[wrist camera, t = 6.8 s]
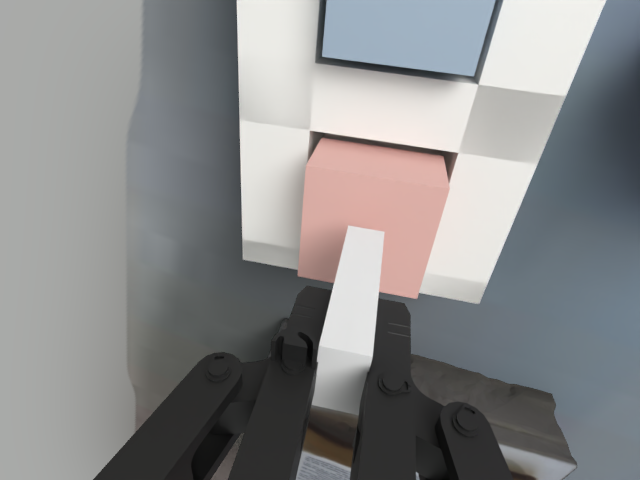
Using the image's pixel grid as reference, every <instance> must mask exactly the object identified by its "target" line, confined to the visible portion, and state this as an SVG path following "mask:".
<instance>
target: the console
mask: <svg viewBox="0 0 640 480" xmlns="http://www.w3.org/2000/svg"><path fill="white" fill-rule="evenodd" d="M605 2H606V0H496V1H495V4H494V8H493V11H492V15H491V18H490V22H489V25H488V29H487V32H486V36H485V39H484V43H483V46H482V50H481V53H480V57H479V60H478V64H477V67H476V71H475V74H474V76H467V75H459V74H451V73H444V72H436V71H428V70H420V69H413V68H405V67H397V66H390V65H382V64H374V63H366V62H359V61H351V60H343V59H336V58H328V57H322V50H323V38H324V26H325V15H326V3H327V0H237V30H238V73H239V116H240V159H241V202H242V245H243V260H248V261H253V262H258V263H264V264H269V265H274V266H280V267H285V268H290V269H296V270H298V264H299V251H300V237H301V224H302V210H303V196H304V183H305V169H306V164H307V163H308V161H309V159H310V157H311V156H312V154H313V152H314V150H315V148H316V147H317V145H318V143H319V141H320V140H321V138H328V139H335V140H341V141H348V142H355V143H361V144H368V145H374V146H381V147H388V148H394V149H401V150H407V151H414V152H421V153H427V154H434V155H440V156H444V161H445V166H446V172H447V177H448V182H449V187H450V190H449V193H448V197H447V200H446V203H445V207H444V210H443V213H442V217H441V220H440V223H439V227H438V230H437V233H436V237H435V240H434V244H433V247H432V250H431V254H430V257H429V260H428V264H427V267H426V270H425V274H424V277H423V280H422V284H421V287H420V290H419V293H423V294H428V295H434V296H439V297H444V298H450V299H455V300H460V301H466V302H471V303H476V304H479V303H480V300H481V298H482V296H483V293H484V291H485V288H486V286H487V284H488V281H489V279H490V276H491V274H492V272H493V269H494V267H495V264H496V262H497V260H498V257H499V255H500V253H501V250H502V248H503V245H504V243H505V241H506V238H507V236H508V233H509V231H510V229H511V226H512V224H513V221H514V219H515V217H516V214H517V212H518V210H519V207H520V205H521V202H522V200H523V198H524V195H525V193H526V190H527V188H528V186H529V183H530V181H531V178H532V176H533V174H534V171H535V169H536V167H537V164H538V162H539V159H540V157H541V155H542V152H543V150H544V147H545V145H546V143H547V140H548V138H549V135H550V133H551V131H552V128H553V126H554V123H555V121H556V119H557V116H558V114H559V112H560V109H561V107H562V104H563V102H564V100H565V97H566V95H567V92H568V90H569V88H570V85H571V83H572V80H573V78H574V76H575V73H576V71H577V69H578V66H579V64H580V61H581V59H582V57H583V54H584V52H585V49H586V47H587V45H588V42H589V40H590V37H591V35H592V33H593V30H594V28H595V26H596V23H597V21H598V18H599V16H600V14H601V11H602V9H603V6H604V4H605Z"/></svg>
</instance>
